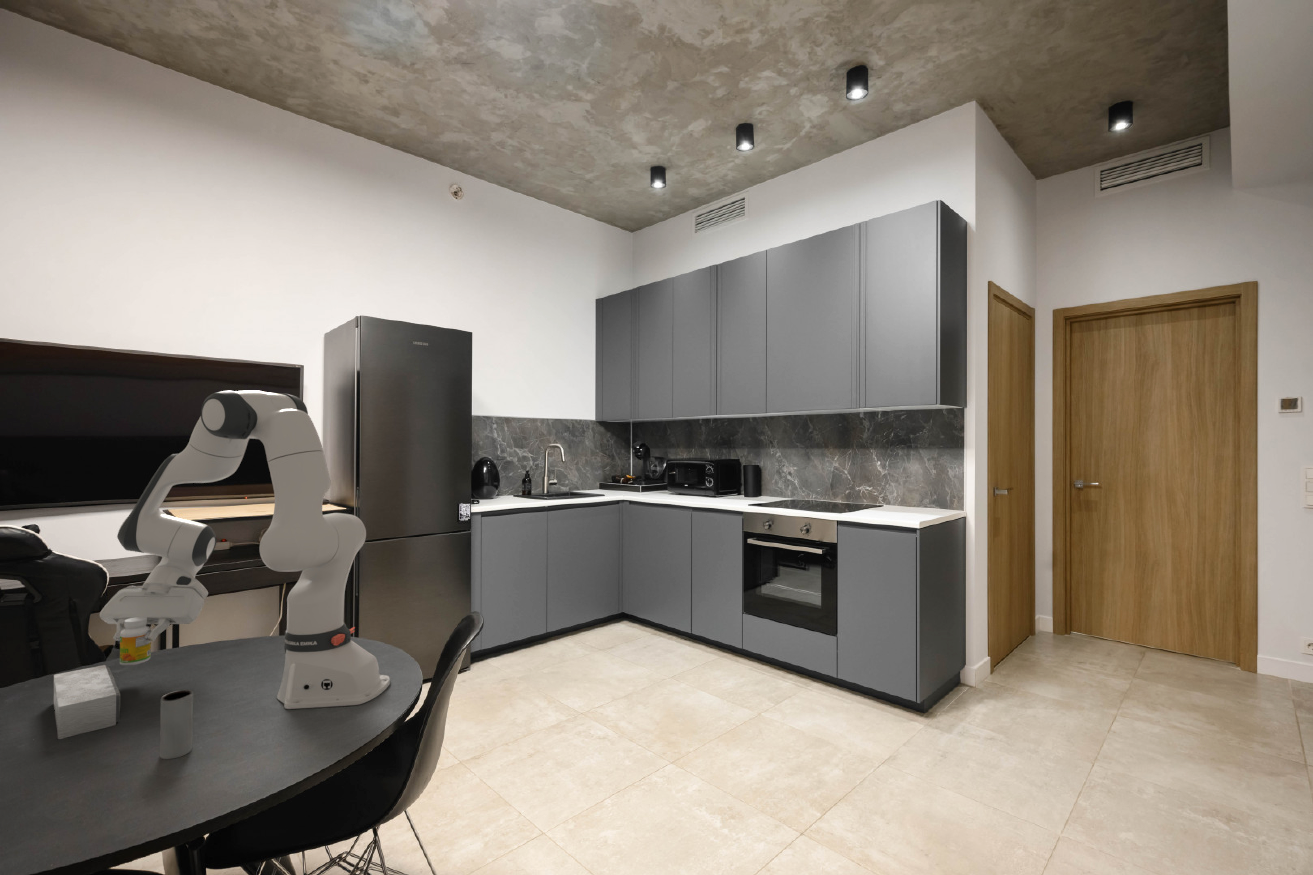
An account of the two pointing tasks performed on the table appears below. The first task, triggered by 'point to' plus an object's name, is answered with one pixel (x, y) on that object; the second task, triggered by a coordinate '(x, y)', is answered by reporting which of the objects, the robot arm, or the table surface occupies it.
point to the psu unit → (85, 701)
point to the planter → (176, 724)
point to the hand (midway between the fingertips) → (133, 639)
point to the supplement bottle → (134, 642)
